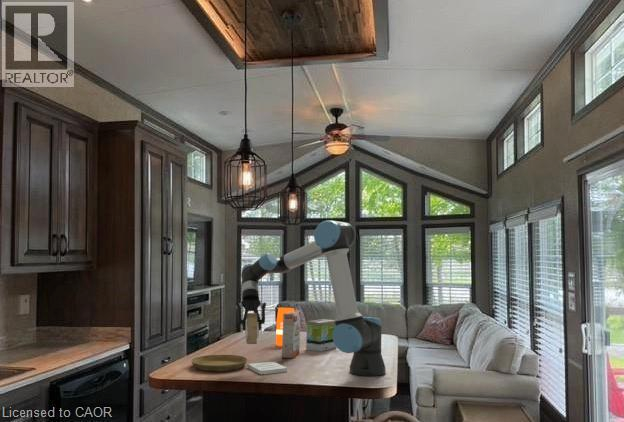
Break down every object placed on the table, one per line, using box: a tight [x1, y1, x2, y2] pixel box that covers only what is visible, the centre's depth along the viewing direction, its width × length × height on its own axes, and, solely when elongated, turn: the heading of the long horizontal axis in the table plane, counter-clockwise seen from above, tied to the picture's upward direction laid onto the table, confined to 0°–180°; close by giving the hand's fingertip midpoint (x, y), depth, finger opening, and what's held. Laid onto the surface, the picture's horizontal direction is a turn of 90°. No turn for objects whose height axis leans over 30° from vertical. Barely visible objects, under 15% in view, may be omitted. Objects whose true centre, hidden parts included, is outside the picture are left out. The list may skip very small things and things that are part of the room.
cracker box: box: [281, 310, 301, 359], centre depth 240 cm, size 14×6×21 cm, turn 168°
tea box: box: [305, 318, 338, 352], centre depth 259 cm, size 15×10×15 cm, turn 143°
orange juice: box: [275, 307, 295, 347], centre depth 270 cm, size 8×9×20 cm
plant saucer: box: [191, 354, 248, 372], centre depth 214 cm, size 24×24×3 cm
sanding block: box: [245, 312, 258, 345], centre depth 208 cm, size 6×4×12 cm, turn 11°
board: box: [247, 361, 288, 376], centre depth 209 cm, size 14×12×2 cm
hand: (252, 336), depth 204 cm, fingers closed on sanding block, 4 cm apart
